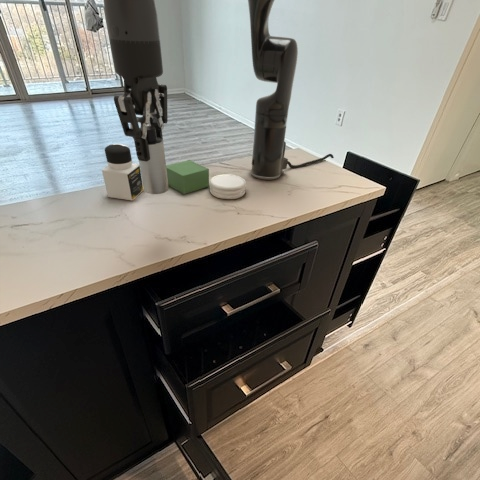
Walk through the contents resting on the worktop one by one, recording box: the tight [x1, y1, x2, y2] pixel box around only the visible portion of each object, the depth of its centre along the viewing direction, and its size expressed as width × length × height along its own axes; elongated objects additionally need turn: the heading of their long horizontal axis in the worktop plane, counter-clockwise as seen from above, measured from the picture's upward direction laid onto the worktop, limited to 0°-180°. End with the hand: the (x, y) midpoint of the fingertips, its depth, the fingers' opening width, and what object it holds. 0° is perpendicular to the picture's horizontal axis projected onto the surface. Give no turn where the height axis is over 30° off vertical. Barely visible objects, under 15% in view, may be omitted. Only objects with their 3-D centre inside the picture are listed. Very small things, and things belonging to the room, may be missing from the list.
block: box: [166, 159, 210, 195], centre depth 91 cm, size 9×9×5 cm
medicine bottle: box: [101, 143, 144, 201], centre depth 83 cm, size 7×7×12 cm
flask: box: [138, 125, 170, 195], centre depth 61 cm, size 5×5×11 cm
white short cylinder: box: [209, 173, 247, 200], centre depth 90 cm, size 10×10×4 cm
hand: (151, 155), depth 60 cm, fingers closed on flask, 5 cm apart
